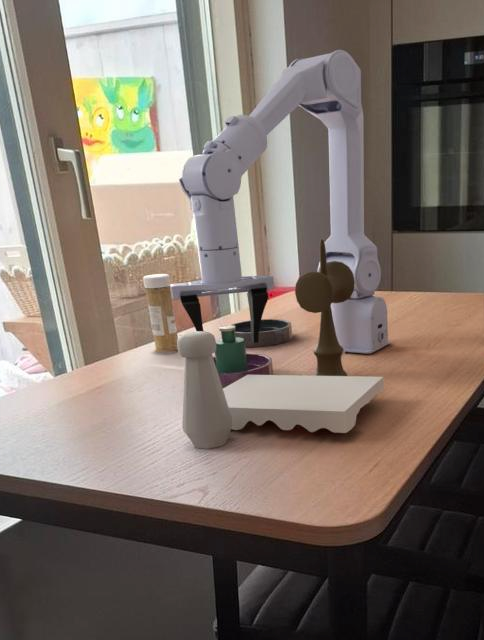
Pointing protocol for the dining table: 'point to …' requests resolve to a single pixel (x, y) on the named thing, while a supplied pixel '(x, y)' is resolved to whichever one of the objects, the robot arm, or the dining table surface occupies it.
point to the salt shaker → (203, 392)
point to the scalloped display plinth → (300, 400)
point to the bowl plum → (255, 365)
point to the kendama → (326, 308)
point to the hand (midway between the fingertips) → (229, 344)
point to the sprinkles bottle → (161, 312)
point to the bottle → (230, 351)
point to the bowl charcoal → (265, 332)
